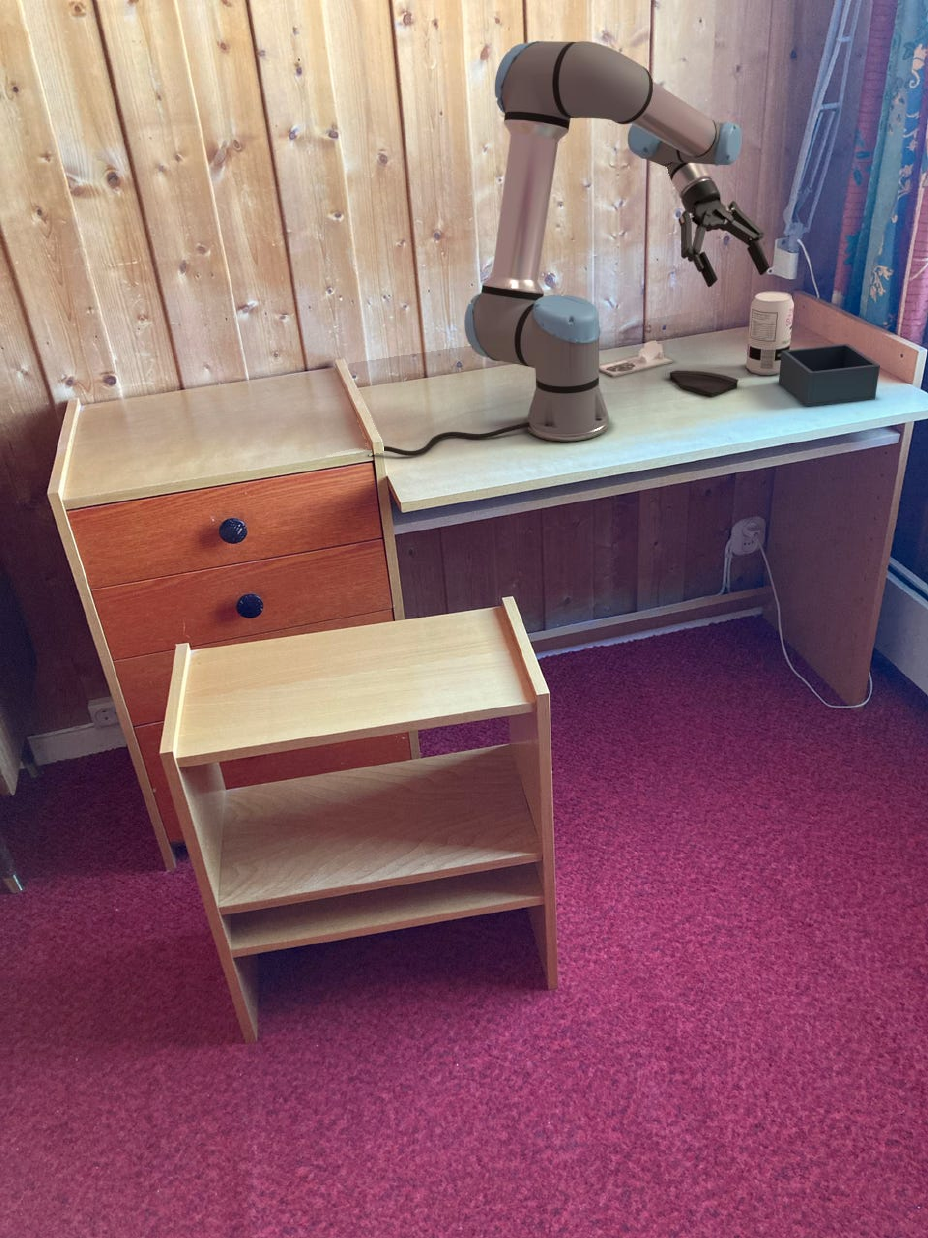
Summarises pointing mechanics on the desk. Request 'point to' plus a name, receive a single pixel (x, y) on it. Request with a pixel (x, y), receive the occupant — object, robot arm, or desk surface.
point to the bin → (828, 375)
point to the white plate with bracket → (638, 361)
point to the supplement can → (769, 331)
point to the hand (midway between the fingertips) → (739, 277)
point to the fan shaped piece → (703, 382)
